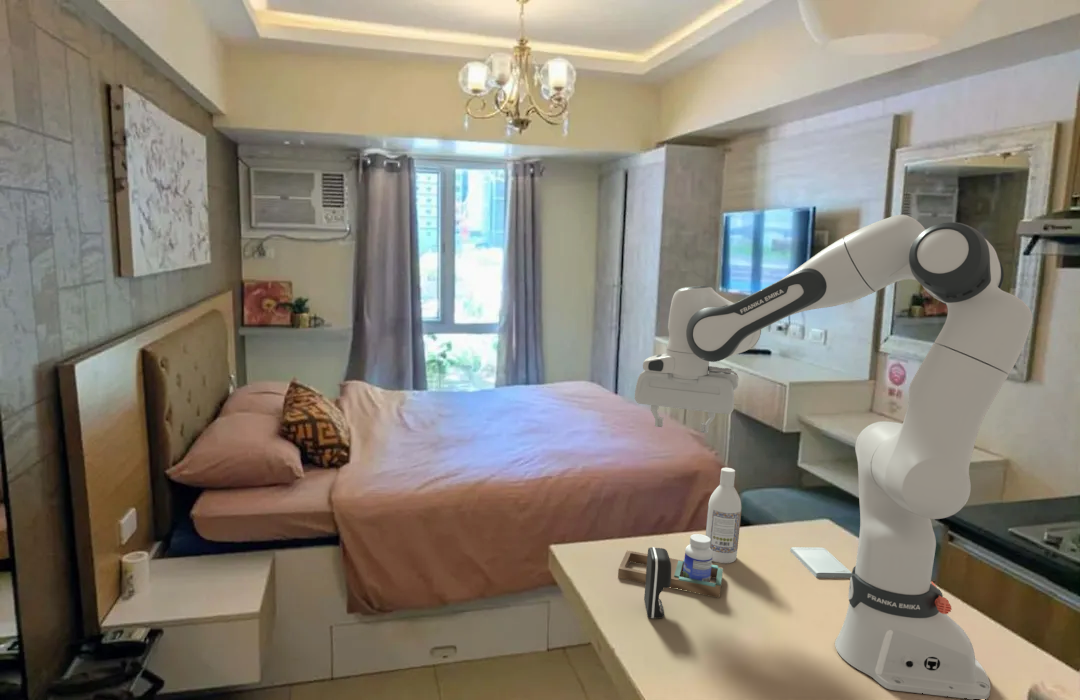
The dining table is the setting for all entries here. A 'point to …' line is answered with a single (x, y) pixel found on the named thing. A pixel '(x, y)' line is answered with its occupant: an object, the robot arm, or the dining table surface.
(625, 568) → the wooden frame
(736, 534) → the bath foam
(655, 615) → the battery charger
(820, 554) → the hard drive
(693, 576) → the pill bottle
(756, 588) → the dining table surface
